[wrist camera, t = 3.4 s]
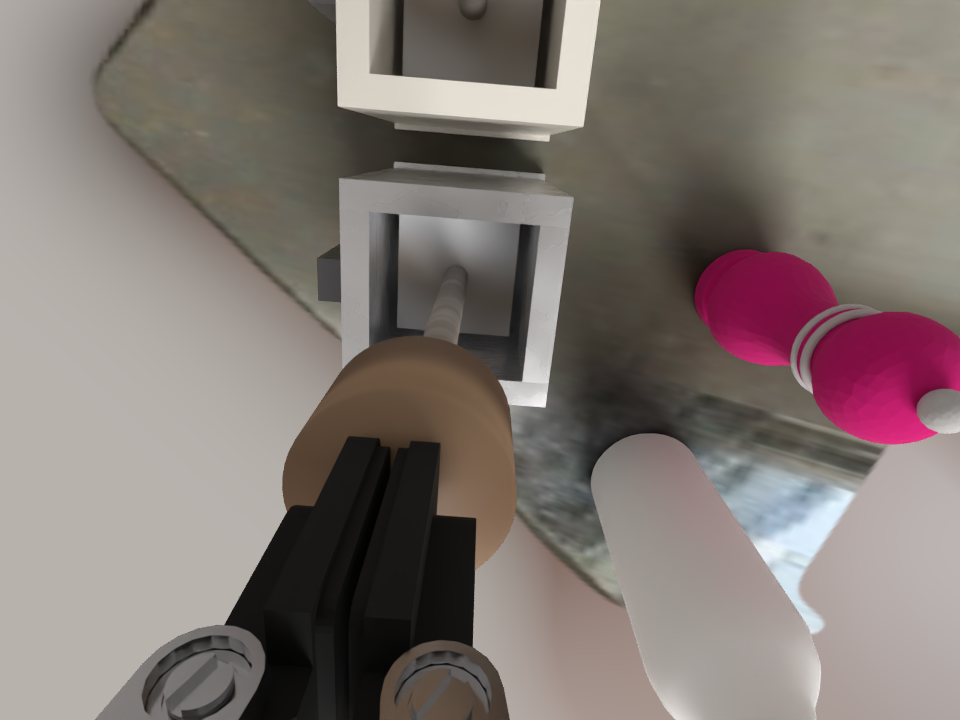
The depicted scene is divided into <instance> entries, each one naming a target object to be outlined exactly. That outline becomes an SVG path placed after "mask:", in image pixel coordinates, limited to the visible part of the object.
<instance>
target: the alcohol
mask: <svg viewBox="0 0 960 720" xmlns="http://www.w3.org/2000/svg"><path fill="white" fill-rule="evenodd" d="M591 490H592V495H593V498H594V502H595V505H596V508H597V512H598V515H599V518H600V522H601V525H602V529H603V532H604V535H605V539H606V542H607V545H608V549H609V552H610V555H611V559H612V562H613V565H614V569H615V572H616V575H617V579H618V582H619V585H620V589H621V592H622V595H623V599H624V602H625V605H626V609H627V612H628V615H629V619H630V622H631V625H632V628H633V632H634V635H635V639H636V642H637V645H638V649H639V652H640V655H641V659H642V662H643V665H644V669H645V672H646V675H647V677H648V679H649V681H650V683H651V685H652V687H653V688H654V690H655V692H656V693H657V695H658V697H659V698H660V700H661V702H662V703H663V705H664V707H665V708H666V710H667V711H668V712H669V713H670V714H671V715H672V717H673V718H675V719H676V720H817V718H816V713H815V707H816V703H817V699H818V695H819V690H820V679H821V664H820V661H819V658H818V654H817V651H816V648H815V645H814V643H813V640H812V637H811V634H810V631H809V628H808V626H807V624H806V623H805V621H804V620H803V618H802V617H801V615H800V614H799V612H798V611H797V609H796V608H795V606H794V605H793V603H792V602H791V600H790V599H789V597H788V596H787V594H786V593H785V591H784V590H783V588H782V587H781V585H780V584H779V582H778V581H777V579H776V578H775V576H774V575H773V573H772V572H771V570H770V569H769V567H768V566H767V564H766V563H765V561H764V560H763V558H762V557H761V555H760V554H759V552H758V551H757V549H756V548H755V546H754V545H753V543H752V542H751V540H750V539H749V537H748V536H747V534H746V533H745V531H744V530H743V528H742V527H741V525H740V524H739V522H738V521H737V519H736V518H735V516H734V515H733V513H732V512H731V510H730V509H729V507H728V506H727V505H726V503H725V502H724V500H723V499H722V497H721V496H720V494H719V493H718V491H717V490H716V488H715V487H714V485H713V484H712V482H711V481H710V479H709V478H708V476H707V475H706V473H705V472H704V470H703V469H702V467H701V466H700V464H699V463H698V461H697V460H696V458H695V457H694V455H693V454H692V452H691V451H690V450H689V449H688V448H687V447H686V446H685V445H684V444H683V443H681V442H680V441H678V440H676V439H675V438H672V437H669V436H666V435H662V434H655V433H648V434H637V435H631V436H629V437H626V438H623V439H621V440H619V441H618V442H616V443H614V444H613V445H612V446H611V447H609V448H608V449H607V450H606V451H605V452H604V453H603V454H602V456H601V457H600V458H599V459H598V461H597V463H596V465H595V466H594V469H593V472H592V476H591Z"/></svg>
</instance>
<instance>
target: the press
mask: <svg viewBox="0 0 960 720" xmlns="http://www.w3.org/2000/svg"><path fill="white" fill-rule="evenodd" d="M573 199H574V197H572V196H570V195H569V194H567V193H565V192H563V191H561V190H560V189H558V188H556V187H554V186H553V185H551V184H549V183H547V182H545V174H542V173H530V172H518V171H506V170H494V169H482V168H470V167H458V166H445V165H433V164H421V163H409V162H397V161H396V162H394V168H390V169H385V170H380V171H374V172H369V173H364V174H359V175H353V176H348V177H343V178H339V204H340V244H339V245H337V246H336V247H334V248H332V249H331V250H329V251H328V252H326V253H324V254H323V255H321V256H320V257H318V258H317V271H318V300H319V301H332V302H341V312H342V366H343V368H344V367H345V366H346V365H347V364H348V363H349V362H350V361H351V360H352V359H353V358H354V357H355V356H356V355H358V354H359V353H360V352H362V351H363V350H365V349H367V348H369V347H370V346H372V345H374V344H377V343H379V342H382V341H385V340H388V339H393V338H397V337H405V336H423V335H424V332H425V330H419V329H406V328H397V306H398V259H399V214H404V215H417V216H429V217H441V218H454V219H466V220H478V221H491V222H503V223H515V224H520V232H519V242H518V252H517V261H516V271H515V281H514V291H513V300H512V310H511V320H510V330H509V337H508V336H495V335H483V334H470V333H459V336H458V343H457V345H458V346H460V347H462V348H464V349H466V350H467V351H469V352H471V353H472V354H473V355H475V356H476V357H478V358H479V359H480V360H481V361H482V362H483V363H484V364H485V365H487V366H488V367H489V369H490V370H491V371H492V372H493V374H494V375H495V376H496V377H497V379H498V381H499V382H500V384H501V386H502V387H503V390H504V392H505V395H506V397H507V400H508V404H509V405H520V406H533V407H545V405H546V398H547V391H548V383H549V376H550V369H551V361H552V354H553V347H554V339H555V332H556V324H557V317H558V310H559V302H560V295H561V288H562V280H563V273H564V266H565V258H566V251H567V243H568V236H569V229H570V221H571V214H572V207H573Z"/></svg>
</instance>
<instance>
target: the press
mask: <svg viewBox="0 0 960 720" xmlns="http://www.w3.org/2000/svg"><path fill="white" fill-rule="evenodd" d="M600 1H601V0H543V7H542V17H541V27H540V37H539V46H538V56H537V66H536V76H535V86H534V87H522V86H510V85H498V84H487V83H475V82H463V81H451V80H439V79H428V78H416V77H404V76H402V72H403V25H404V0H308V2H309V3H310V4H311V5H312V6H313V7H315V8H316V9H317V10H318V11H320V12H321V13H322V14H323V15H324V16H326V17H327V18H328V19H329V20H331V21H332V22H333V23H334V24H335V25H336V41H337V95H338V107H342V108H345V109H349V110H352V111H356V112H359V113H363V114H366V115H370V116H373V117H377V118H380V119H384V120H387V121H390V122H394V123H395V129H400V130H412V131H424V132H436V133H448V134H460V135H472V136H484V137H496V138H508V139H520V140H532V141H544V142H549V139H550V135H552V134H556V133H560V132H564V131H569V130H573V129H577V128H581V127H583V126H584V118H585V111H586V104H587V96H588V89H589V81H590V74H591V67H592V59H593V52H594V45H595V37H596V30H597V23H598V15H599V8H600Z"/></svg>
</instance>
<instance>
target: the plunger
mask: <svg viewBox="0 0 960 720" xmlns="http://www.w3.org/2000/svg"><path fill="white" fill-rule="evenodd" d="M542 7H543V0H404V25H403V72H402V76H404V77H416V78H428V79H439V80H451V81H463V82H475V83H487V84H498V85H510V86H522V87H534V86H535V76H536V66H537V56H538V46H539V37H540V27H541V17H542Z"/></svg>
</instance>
